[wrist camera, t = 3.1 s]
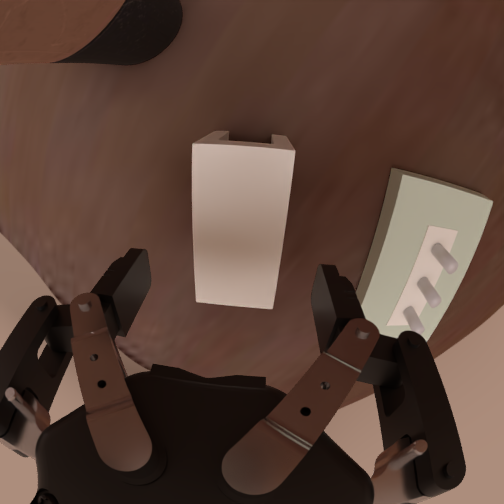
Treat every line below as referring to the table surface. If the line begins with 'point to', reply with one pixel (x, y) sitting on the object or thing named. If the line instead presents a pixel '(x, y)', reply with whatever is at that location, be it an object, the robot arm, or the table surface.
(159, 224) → the table surface
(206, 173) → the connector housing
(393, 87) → the table surface
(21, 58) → the travel mug
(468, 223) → the board
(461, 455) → the robot arm
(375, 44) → the table surface
